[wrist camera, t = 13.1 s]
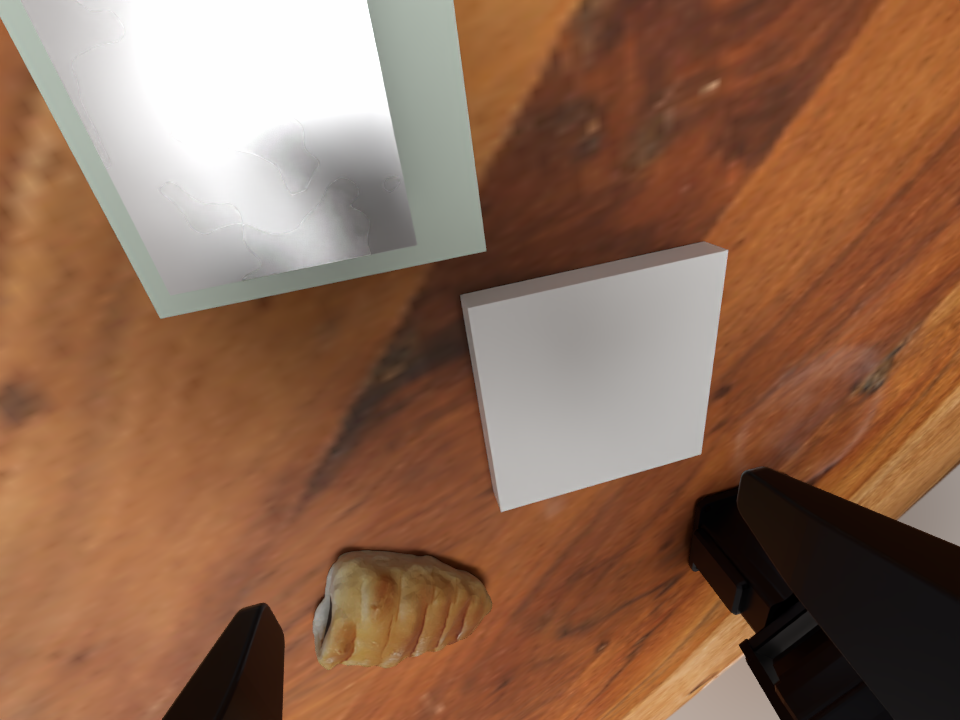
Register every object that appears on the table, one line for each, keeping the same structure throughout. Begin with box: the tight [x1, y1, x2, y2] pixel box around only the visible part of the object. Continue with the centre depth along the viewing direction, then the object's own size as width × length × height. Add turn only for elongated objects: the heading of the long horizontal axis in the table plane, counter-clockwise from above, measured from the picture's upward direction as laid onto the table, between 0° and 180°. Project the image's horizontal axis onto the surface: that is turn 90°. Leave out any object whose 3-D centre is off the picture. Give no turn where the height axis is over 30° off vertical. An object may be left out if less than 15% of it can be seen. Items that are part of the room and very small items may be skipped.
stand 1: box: [0, 0, 486, 319], centre depth 14 cm, size 11×11×2 cm
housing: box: [21, 0, 417, 295], centre depth 11 cm, size 6×7×5 cm
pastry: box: [313, 550, 492, 670], centre depth 25 cm, size 9×7×4 cm
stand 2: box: [460, 241, 728, 512], centre depth 21 cm, size 11×11×2 cm
